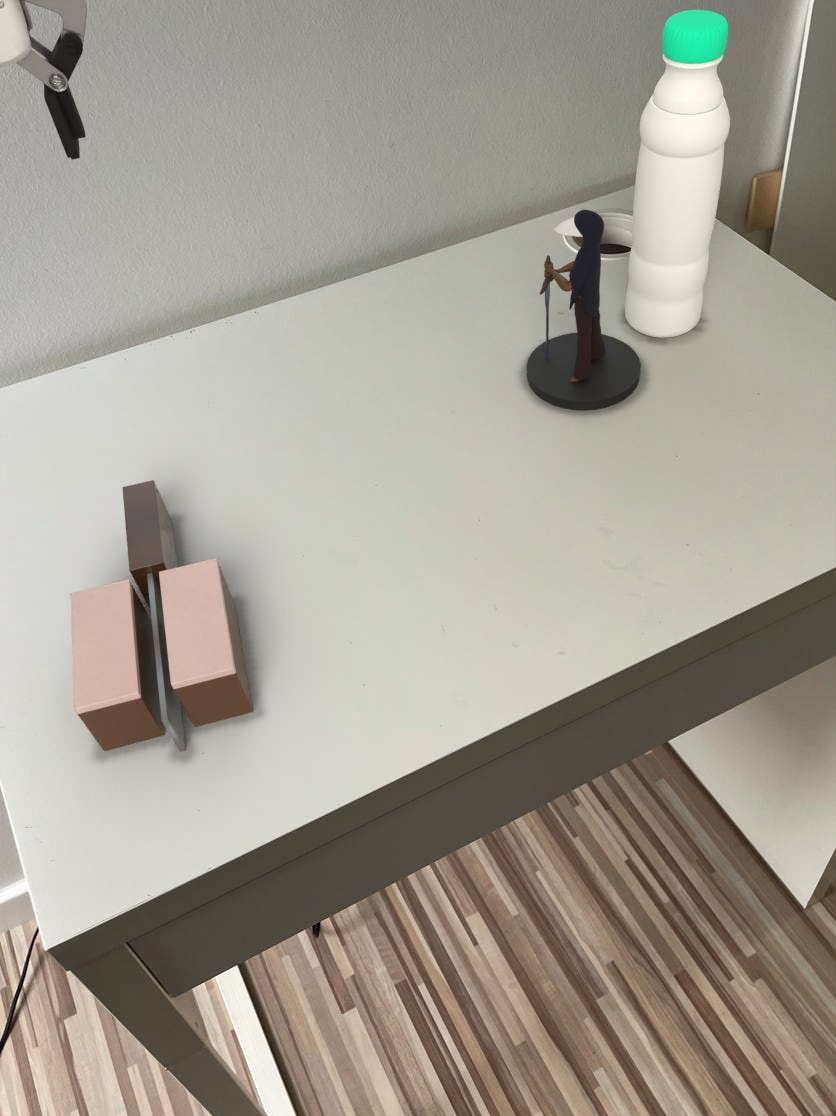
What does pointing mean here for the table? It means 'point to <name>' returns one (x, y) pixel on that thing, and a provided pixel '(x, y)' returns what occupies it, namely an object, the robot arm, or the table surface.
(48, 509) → the table surface
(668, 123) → the water bottle
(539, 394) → the figurine
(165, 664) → the knife
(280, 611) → the table surface
